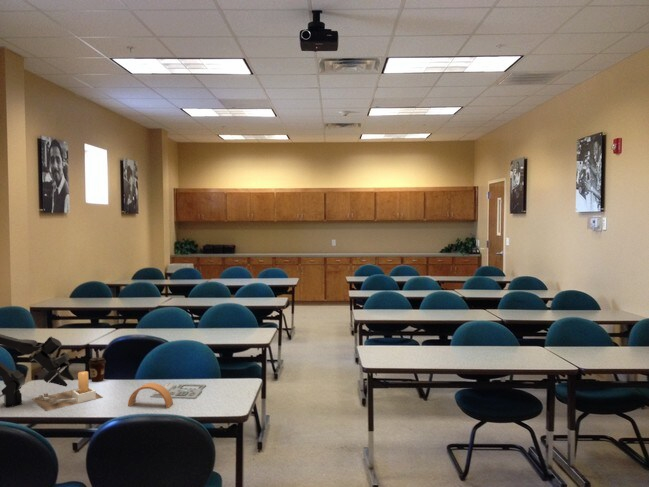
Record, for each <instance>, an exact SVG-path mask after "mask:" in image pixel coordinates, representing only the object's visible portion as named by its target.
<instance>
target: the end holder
mask: <svg viewBox="0 0 649 487" xmlns="http://www.w3.org/2000/svg"><path fill="white" fill-rule="evenodd" d="M77 389H78V390H76V389H73V390H74V391H72V397H73V398H75V399H76V402H78V404H82V403H81V402H83V403H86V402H85V401H87V402H90V401H89V400H91V401H94V400H93V399H95V400H97V399H96V393H97V392H96V390H95V389H94V388H92V387H90V386H89V392H86V393H82V394H79V388H77Z"/></svg>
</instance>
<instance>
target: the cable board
mask: <svg viewBox="0 0 649 487" xmlns="http://www.w3.org/2000/svg"><path fill="white" fill-rule="evenodd" d="M78 389H79V388H77V389H73V390H67V391H63V392H59V393H58V392H57V393H54V394H50V395H49V393H48V392H44V393H43V394H39V395H37V396H36V395H35V396H34V398H32V399H31V400H32V401H33V402H35V404H36V405H38V406H39V407H40V408H41V409H42V410H44V411H45V412H48V411H53V410H57V409H62V408H65V407H70V406H73V405H78V404H79V403H78V402H76V399H75V398H73V397H72V391H74V390H78ZM103 398H104V397H103V396H102V395H100V394H98V393H97V392H96V399H93V400H89V401H85V402H81V403H80V404H82V403H87V402H92V401H94V400H95V401H96V400H99V399H103Z"/></svg>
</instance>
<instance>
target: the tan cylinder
mask: <svg viewBox="0 0 649 487" xmlns="http://www.w3.org/2000/svg"><path fill="white" fill-rule="evenodd" d="M77 377H78V378H77V379H78V380H77V382H78V383H77V384H78V389H79V394H82V393H86V392H89V387H90V384H89V382H90V381H89V371H87V370H86V371H85V370H83V371H79V372H78V373H77Z"/></svg>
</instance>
